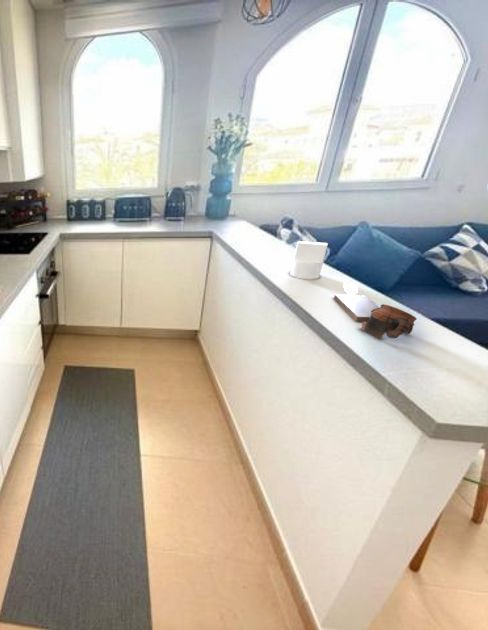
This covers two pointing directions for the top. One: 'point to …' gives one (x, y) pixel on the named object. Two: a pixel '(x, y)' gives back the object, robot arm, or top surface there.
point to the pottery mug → (380, 325)
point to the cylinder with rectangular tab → (308, 259)
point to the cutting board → (357, 306)
